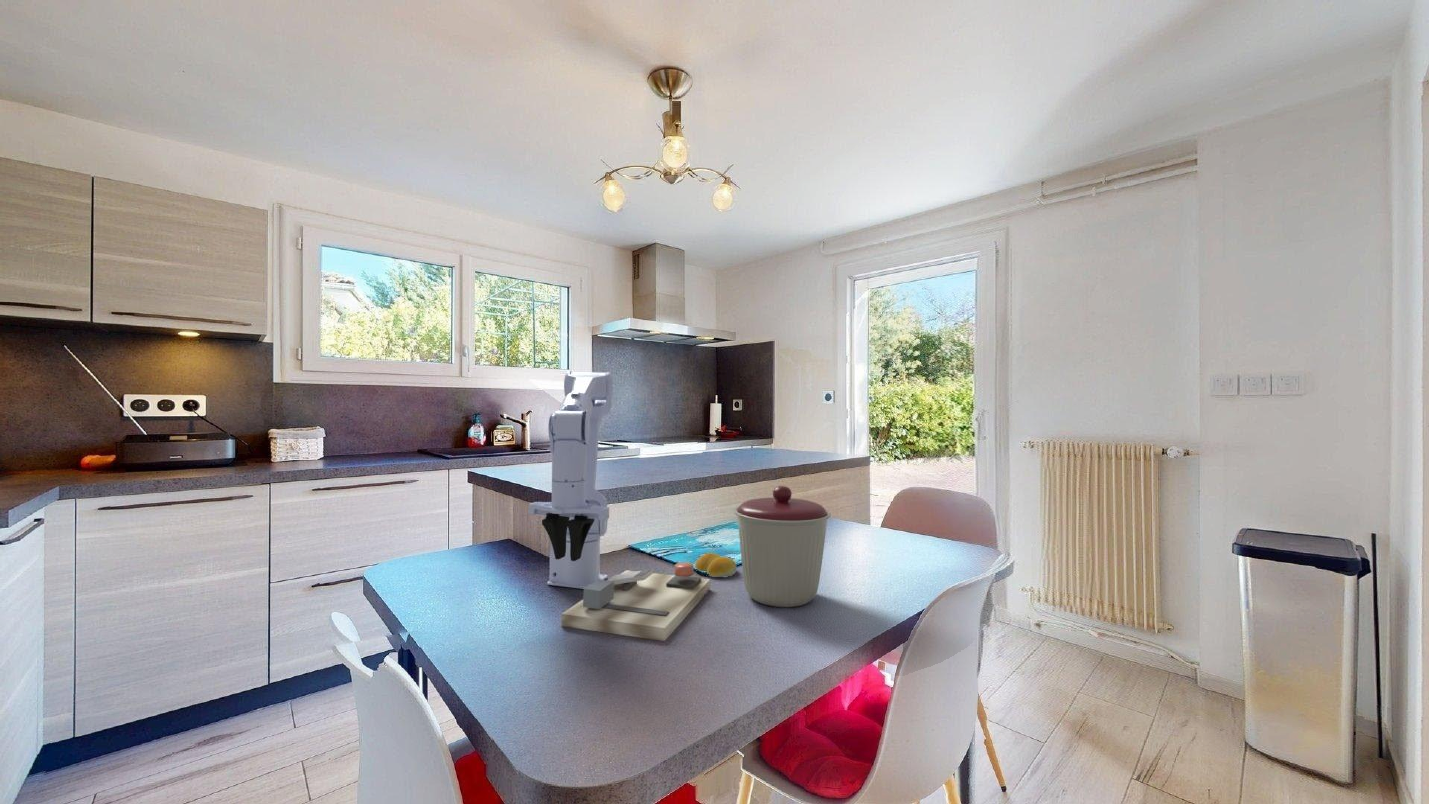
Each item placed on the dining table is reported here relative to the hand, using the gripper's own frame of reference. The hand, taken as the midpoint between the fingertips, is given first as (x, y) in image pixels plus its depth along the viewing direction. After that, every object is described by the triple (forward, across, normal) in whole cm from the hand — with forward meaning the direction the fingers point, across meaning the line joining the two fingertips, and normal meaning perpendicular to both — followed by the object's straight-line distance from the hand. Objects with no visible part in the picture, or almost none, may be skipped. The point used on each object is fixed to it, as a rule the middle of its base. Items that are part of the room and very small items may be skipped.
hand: (568, 558), depth 93 cm
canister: (+10, +34, +19) cm, 40 cm away
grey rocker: (+6, +7, +10) cm, 14 cm away
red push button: (+6, +16, +15) cm, 23 cm away
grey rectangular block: (+7, +6, 0) cm, 9 cm away
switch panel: (+9, +11, +7) cm, 16 cm away
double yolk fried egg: (+10, +18, +30) cm, 36 cm away
